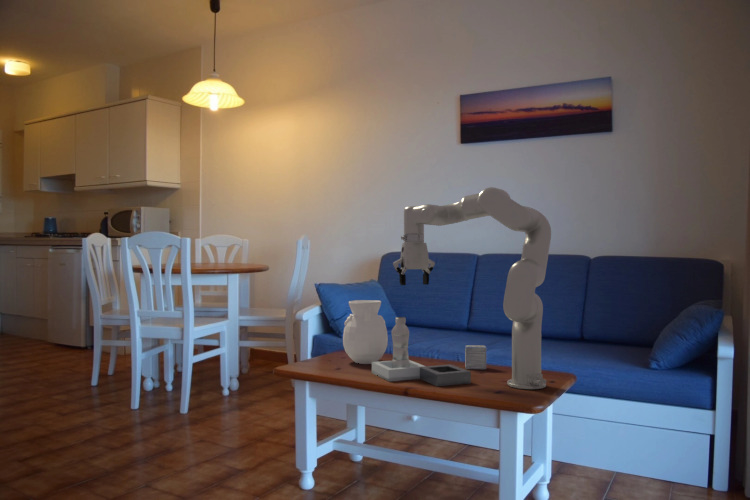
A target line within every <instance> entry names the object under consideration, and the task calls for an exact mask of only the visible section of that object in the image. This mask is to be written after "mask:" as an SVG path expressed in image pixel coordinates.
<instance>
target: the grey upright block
mask: <svg viewBox="0 0 750 500" xmlns="http://www.w3.org/2000/svg"><path fill="white" fill-rule="evenodd" d="M464 347H465V349H464V355H465V357H464V360H465V361H464V362H465V363H464V366H465V370H487V346H486V345H479V344H478V345H474V344H473V345H471V344H470V345H464Z"/></svg>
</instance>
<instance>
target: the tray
mask: <svg viewBox="0 0 750 500" xmlns="http://www.w3.org/2000/svg"><path fill="white" fill-rule="evenodd" d="M409 362H410V367H404V368H392V360H382V361H381V360H379V361H378V362H372V364H371V374H373V375H374V376H377V375H378V376H377V377H379V378H380V379H383V380H385V381H386V382H400V381H407V380H408V381H409V380H410V381H411V380H421V379H420V367H424V366H425V365H423V364H421V363H418V362H417V361H415V360H414V361H413V360H410V359H409Z"/></svg>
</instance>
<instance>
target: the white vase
mask: <svg viewBox="0 0 750 500" xmlns="http://www.w3.org/2000/svg"><path fill="white" fill-rule="evenodd" d="M381 305H382V301H381V300H378V299H377V300H374V299H372V300H371V299H370V300H368V299H366V300H365V299H362V300H361V299H355V300H349V301H348V306H349V308H350V311H351V313H349V315H348V316H347V317H346V320H345V321H344V323H343V325H344V327H343V334H342V335H343V336H342V346H343V349H344V351H345V353H346V355H348V357H349V358H350V359H351V360H352V361H353V362H354V363H355V364H358V363H359V364H360V365H372V362H379V361H380V359H382V357H383V356H384V354H385V352H386V350H387V348H388V342H389V340H388V339H389V337H388V329H387V326H386V321H385V319H384V317H383V316H382V315H379V310H380V308H381Z"/></svg>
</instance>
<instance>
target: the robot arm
mask: <svg viewBox="0 0 750 500" xmlns="http://www.w3.org/2000/svg"><path fill="white" fill-rule="evenodd" d="M403 209H404V210H403V235H401V236H400V240H401V241H402V240H403V243H402V244H401V250H400V258H399V259H397V260H395V261H393V263H392V265H393V268H394V270H395V271H396V273H397V274H398V275H399V285H400V286H406V285H407V284H406V283H407V282H406V281H407V280H406V279H407V278H406V274H405V273H407V271H408V270H421V271H422V272H423V274H422V284H423V285H425V286H426V285H429V284H430V283H429V282H430V274H431V273H432V271H433V269H434V267H435V264H436V262H435V261H433V260H432V259H430V258H429V257H430V256H429V250H428V245H427V242H425V225H427V226H438V227H440V226H447V225H453V224H458V223H462V222H466V221H469V220H473V219H479V218H483V217H491V218H493V219H494V220H496V221H497V222H499V223H500V224H502V225H503V226H504V227H505V228H506V227H507V228H508V229H509V230H510V231H515V232H520V233H524V234H525V238H524V242H523V245H522V252H521V255H520V256H521V258H520V260H517V261H516V262H515V263H513V264H512V265H511V266H510V268H509V271H508V274H507V278H506V284H505V290H504V296H503V301H502V303H503V305H502V306H503V312H504V314H505V316H506V317H507V318H508V320H510V321H512V327H511V378H510V379H508V380H507V382H506V383H507V386H508V387H510V388H515V389H521V390H539V389H540V390H541V389H544V388H546V387H547V379H545V378H543V373H542V323H543V315H544V314H543V313H544V306H543V301H542V299H541V297H540V296H539V295H538V294H537V293H536V288H537V287H539V286H541V285H542V284H543V283H544V281H545V279H546V278H545V277H546V274H547V273H546V272H547V266H548V259H549V253H550V252H549V251H550V248H551V241H552V240H551V239H552V228H551V224H550V222H549V220H548V219H547V217H546V216H545V215H544V214H543V213H542V212H540V211H539V210H537V209H535V208H532V207H529V206H524V205H522V204H520V203H518V202H517V201H515V200H513V199H512V198H511V196H510V194H509V193H508V191H506V190H504V189H502V188H497V187H493V186H491V187H490V186H489V187H486V188H484V189H483V190H481V191H480V192H479V193H472V194H469V195H464V196H462V198H461V200H460V201H457V202H454V203H450V204H445V205H437V204H430V203H429V204H422V205H411V206H409V205H408V206H406V207H404V208H403ZM399 265H400V267H399Z"/></svg>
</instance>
